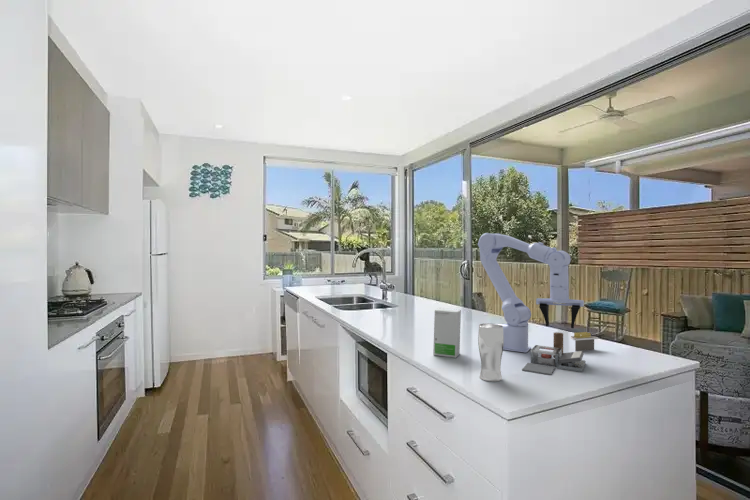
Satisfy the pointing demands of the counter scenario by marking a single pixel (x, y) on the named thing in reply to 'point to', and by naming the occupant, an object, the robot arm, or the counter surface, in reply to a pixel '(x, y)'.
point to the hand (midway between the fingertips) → (559, 326)
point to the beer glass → (491, 351)
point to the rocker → (571, 357)
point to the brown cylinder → (558, 341)
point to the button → (546, 356)
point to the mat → (538, 368)
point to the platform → (583, 341)
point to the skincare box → (447, 332)
